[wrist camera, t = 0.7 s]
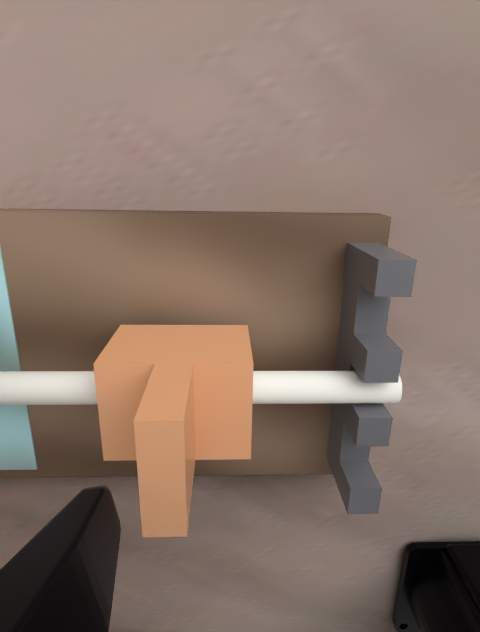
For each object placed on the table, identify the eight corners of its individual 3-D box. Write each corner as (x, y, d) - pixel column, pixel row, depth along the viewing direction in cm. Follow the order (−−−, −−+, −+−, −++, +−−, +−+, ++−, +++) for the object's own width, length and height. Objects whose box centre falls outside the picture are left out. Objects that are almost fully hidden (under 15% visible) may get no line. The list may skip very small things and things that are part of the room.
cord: (387, 392, 16) (399, 409, 15) (-138, 395, 16) (-166, 412, 15) (391, 365, 16) (403, 380, 15) (-147, 365, 15) (-177, 381, 14)
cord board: (349, 453, 21) (358, 474, 20) (-114, 458, 20) (-141, 480, 19) (377, 213, 18) (391, 217, 16) (-191, 206, 17) (-232, 209, 15)
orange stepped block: (245, 404, 18) (257, 535, 11) (127, 405, 18) (70, 538, 11) (247, 325, 17) (261, 419, 10) (120, 324, 16) (53, 421, 10)
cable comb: (352, 456, 20) (377, 513, 16) (326, 456, 20) (347, 513, 16) (377, 242, 16) (416, 259, 13) (347, 242, 16) (379, 259, 13)
